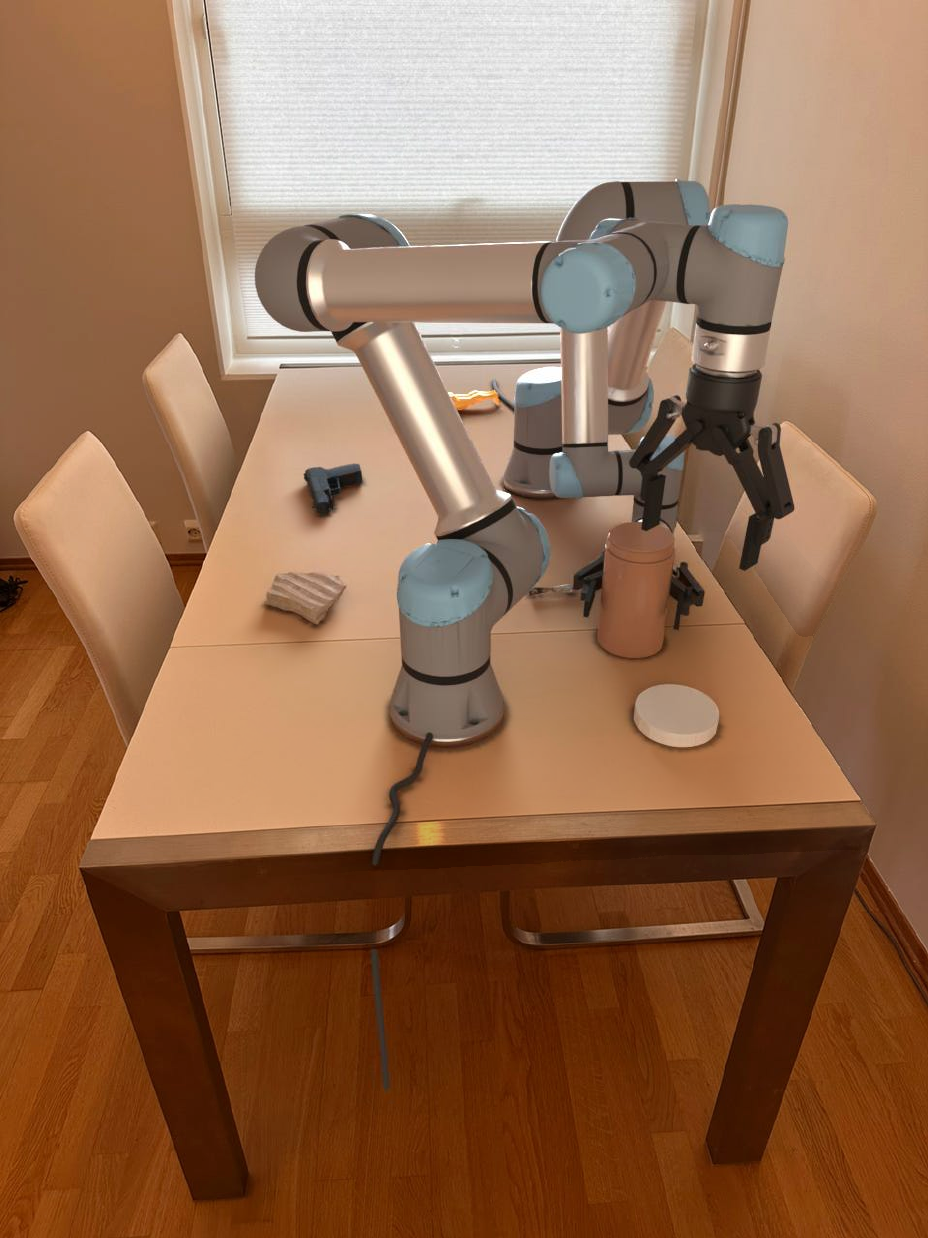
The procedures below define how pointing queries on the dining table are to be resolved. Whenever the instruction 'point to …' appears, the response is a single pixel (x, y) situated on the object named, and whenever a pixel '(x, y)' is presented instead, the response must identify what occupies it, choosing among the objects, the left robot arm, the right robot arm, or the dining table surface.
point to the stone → (305, 593)
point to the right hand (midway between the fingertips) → (631, 615)
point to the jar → (635, 589)
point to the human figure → (473, 398)
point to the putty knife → (553, 589)
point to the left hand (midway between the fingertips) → (697, 546)
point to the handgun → (330, 484)
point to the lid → (676, 715)
